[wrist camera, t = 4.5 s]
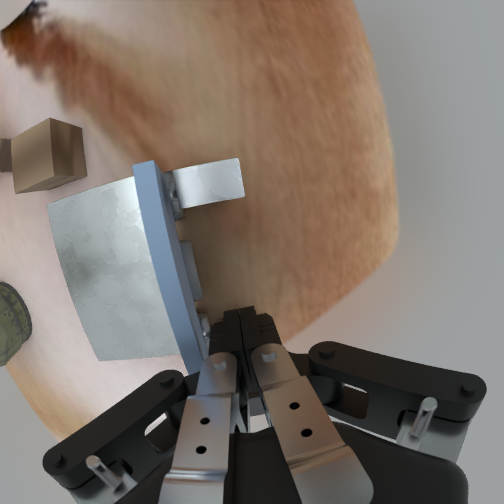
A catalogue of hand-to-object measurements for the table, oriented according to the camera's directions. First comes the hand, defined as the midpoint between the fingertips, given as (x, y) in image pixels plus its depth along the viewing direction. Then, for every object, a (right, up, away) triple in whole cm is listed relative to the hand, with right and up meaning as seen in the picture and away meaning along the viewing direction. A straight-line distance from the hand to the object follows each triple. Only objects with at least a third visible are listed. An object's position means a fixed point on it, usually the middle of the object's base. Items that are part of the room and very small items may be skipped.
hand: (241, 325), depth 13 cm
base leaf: (-9, +2, +12) cm, 15 cm away
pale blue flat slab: (-4, 0, +4) cm, 6 cm away
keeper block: (-18, +13, +8) cm, 24 cm away
